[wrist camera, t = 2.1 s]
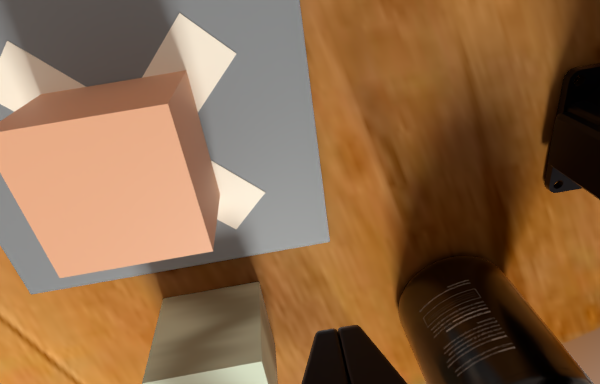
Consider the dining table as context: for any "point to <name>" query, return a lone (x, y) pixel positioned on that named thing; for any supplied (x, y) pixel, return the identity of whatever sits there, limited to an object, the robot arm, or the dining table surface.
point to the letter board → (209, 102)
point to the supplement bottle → (480, 329)
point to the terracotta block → (113, 173)
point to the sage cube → (213, 339)
